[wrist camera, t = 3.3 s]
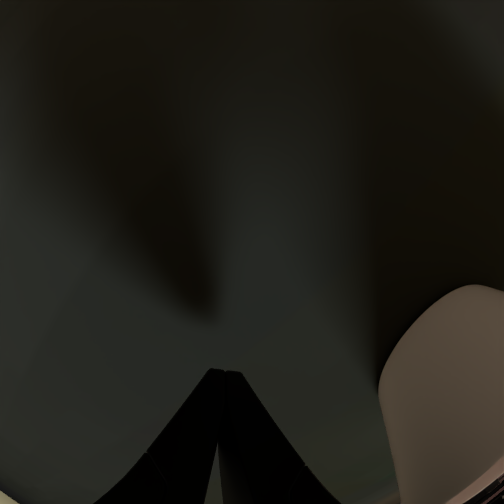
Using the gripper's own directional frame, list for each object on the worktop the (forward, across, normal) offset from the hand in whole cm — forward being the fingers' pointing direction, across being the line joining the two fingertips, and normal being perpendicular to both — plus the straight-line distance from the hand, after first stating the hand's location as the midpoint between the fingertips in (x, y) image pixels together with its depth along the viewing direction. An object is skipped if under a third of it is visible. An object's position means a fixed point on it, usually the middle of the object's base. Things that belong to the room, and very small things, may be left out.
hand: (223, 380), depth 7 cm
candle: (+2, -9, 0) cm, 9 cm away
